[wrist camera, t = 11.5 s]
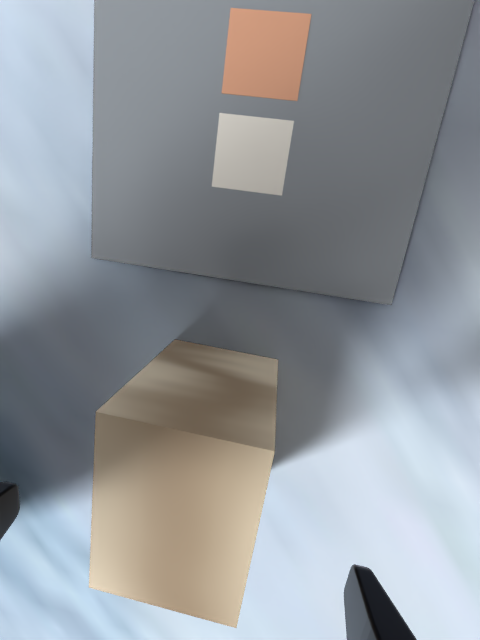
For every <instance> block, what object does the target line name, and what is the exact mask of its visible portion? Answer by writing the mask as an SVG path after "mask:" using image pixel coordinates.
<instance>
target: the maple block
mask: <svg viewBox="0 0 480 640" xmlns="http://www.w3.org/2000/svg"><path fill="white" fill-rule="evenodd" d="M277 375H278V359H273V358H268V357H262V356H257V355H252V354H247V353H242V352H237V351H232V350H227V349H222V348H217V347H211V346H206V345H201V344H196V343H191V342H186V341H181V340H176V339H175V340H174V341H173V342H172V343H170V344H169V345H168V346H167V347H166V348H165V349H164V350H163V351H162V352H161V353H159V354H158V355H157V356H156V357H155V358H154V359H153V360H152V361H151V362H150V363H148V364H147V365H146V366H145V367H144V368H143V369H142V370H141V371H140V372H139V373H137V374H136V375H135V376H134V377H133V378H132V379H131V380H130V381H129V382H128V383H127V384H125V385H124V386H123V387H122V388H121V389H120V390H119V391H118V392H117V393H116V394H114V395H113V396H112V397H111V398H110V399H109V400H108V401H107V402H106V403H105V404H103V405H102V406H101V407H100V408H99V409H98V410H97V411H96V415H95V441H94V468H93V494H92V520H91V547H90V573H89V588H93V589H96V590H100V591H103V592H107V593H111V594H114V595H118V596H122V597H125V598H129V599H133V600H136V601H140V602H143V603H147V604H151V605H154V606H158V607H162V608H165V609H169V610H173V611H176V612H180V613H184V614H187V615H191V616H194V617H198V618H202V619H205V620H209V621H213V622H216V623H220V624H224V625H227V626H231V627H234V628H236V627H237V622H238V618H239V613H240V609H241V604H242V599H243V595H244V590H245V586H246V581H247V576H248V572H249V567H250V563H251V558H252V554H253V549H254V544H255V540H256V535H257V531H258V526H259V521H260V517H261V512H262V508H263V503H264V499H265V494H266V489H267V485H268V480H269V476H270V471H271V466H272V462H273V457H274V453H275V431H276V403H277Z"/></svg>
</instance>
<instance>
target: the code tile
mask: <svg viewBox="0 0 480 640" xmlns="http://www.w3.org/2000/svg"><path fill="white" fill-rule="evenodd" d="M474 1H475V0H94V77H93V159H92V241H91V258H95V259H101V260H108V261H114V262H120V263H127V264H133V265H139V266H146V267H152V268H158V269H165V270H171V271H177V272H184V273H190V274H196V275H203V276H209V277H215V278H222V279H228V280H234V281H241V282H247V283H253V284H260V285H266V286H272V287H279V288H285V289H292V290H298V291H304V292H311V293H317V294H323V295H330V296H336V297H342V298H349V299H355V300H361V301H368V302H374V303H380V304H387V305H392V301H393V297H394V294H395V290H396V286H397V283H398V279H399V275H400V272H401V268H402V264H403V261H404V257H405V253H406V250H407V246H408V242H409V239H410V235H411V231H412V228H413V224H414V220H415V217H416V213H417V209H418V206H419V202H420V198H421V195H422V191H423V187H424V184H425V180H426V176H427V173H428V169H429V165H430V162H431V158H432V154H433V151H434V147H435V144H436V140H437V136H438V133H439V129H440V125H441V122H442V118H443V114H444V111H445V107H446V103H447V100H448V96H449V92H450V89H451V85H452V81H453V78H454V74H455V70H456V67H457V63H458V59H459V56H460V52H461V48H462V45H463V41H464V37H465V34H466V30H467V26H468V23H469V19H470V15H471V12H472V8H473V4H474Z"/></svg>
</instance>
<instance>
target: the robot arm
mask: <svg viewBox="0 0 480 640" xmlns="http://www.w3.org/2000/svg"><path fill="white" fill-rule="evenodd" d="M19 509H20V500H19V487H18V485H17V484H14V483H10V482H0V540H1V538H2V537H3V536H4V534H5V533H6V531H7V530H8V529H9V527H10V526H11V524H12V523H13V521H14V520H15V519H16V517H17V515H18V513H19ZM344 606H345V619H346V632H347V640H417V639H416V638H415V636H414V635H413V633H412V632H411V630H410V629H409V627H408V626H407V624H406V623H405V621H404V619H403V618H402V616H401V615H400V613H399V612H398V610H397V609H396V607H395V606H394V604H393V603H392V601H391V600H390V598H389V596H388V595H387V593H386V592H385V590H384V589H383V587H382V586H381V584H380V583H379V581H378V580H377V578H376V577H375V575H374V573H373V572H372V571H371V570H370V569H369V568H367V567H364V566H359V565H352V567H351V569H350V572H349V575H348V579H347V582H346V585H345V589H344Z"/></svg>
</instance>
